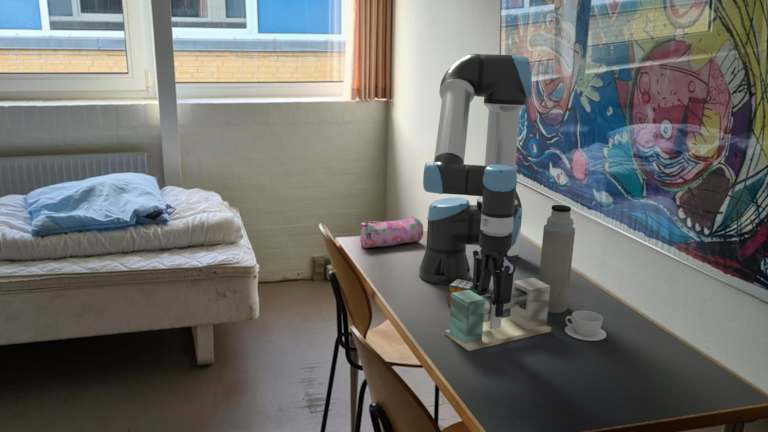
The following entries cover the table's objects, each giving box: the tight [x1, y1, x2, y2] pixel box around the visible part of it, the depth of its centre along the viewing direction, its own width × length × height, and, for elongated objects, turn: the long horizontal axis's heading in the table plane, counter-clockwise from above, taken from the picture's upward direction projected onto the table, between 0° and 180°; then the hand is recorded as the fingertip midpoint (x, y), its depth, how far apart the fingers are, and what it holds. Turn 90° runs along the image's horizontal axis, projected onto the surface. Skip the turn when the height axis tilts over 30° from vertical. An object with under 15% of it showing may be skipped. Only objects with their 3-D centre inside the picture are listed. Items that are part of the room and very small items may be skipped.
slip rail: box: [444, 277, 552, 352], centre depth 176 cm, size 25×10×11 cm, turn 120°
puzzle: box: [447, 279, 477, 307], centre depth 194 cm, size 6×6×6 cm
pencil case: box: [360, 216, 424, 249], centre depth 242 cm, size 21×9×9 cm, turn 115°
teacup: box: [564, 310, 607, 342], centre depth 179 cm, size 10×10×5 cm
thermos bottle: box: [538, 204, 576, 314], centre depth 191 cm, size 8×8×28 cm
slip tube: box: [483, 291, 527, 315], centre depth 175 cm, size 18×4×4 cm, turn 120°
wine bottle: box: [507, 164, 523, 261], centre depth 231 cm, size 8×8×30 cm
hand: (488, 323), depth 175 cm, fingers closed on slip tube, 4 cm apart
